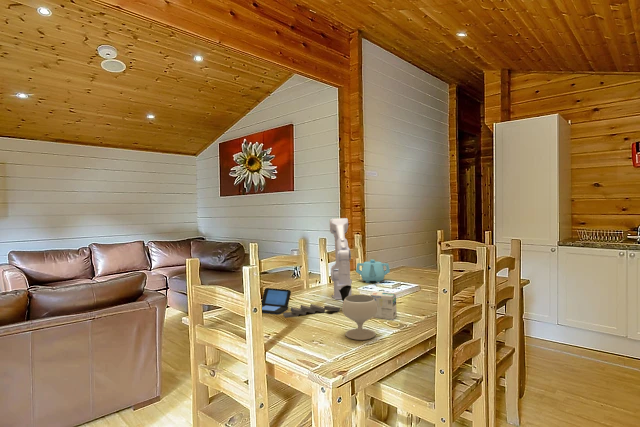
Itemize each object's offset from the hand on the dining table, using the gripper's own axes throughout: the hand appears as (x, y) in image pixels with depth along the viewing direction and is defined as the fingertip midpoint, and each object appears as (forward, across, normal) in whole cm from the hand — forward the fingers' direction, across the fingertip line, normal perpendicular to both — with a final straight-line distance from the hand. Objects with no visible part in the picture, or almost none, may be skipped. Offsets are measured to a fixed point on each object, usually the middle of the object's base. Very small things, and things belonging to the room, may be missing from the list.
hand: (344, 300), depth 186 cm
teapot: (+4, -61, -6) cm, 61 cm away
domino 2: (+3, +14, -15) cm, 21 cm away
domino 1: (+4, +17, -18) cm, 25 cm away
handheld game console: (+5, +14, -34) cm, 37 cm away
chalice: (+4, +30, +19) cm, 36 cm away
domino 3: (+3, +11, -12) cm, 16 cm away
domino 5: (+3, +3, -3) cm, 6 cm away
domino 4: (+3, +7, -8) cm, 12 cm away
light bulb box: (+4, +4, +21) cm, 22 cm away
